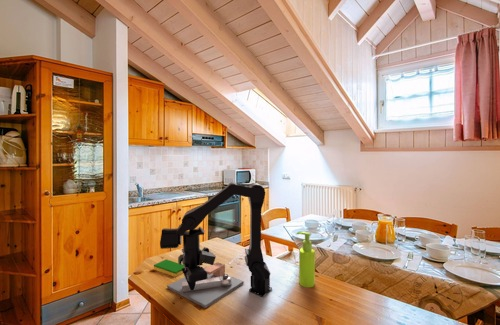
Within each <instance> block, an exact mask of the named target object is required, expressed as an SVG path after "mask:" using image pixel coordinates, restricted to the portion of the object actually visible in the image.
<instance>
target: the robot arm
mask: <svg viewBox="0 0 500 325" xmlns="http://www.w3.org/2000/svg"><path fill="white" fill-rule="evenodd" d="M234 195H237V196H240V197H246V198H247V199H248V203H249V208H250V209H249V212H250V214H249V217H250V218H249V219H250V221H249V222H250V223H249V224H250V225H249V246H248V248H245V249H244V251H245V256H244V260H245V265H246V267H247V268H248V270H249V272H250V273H251V276H250V288H248V292H250V293H253V294H256V295H258V296H261V297H264V296H265V295H267V294H268V293H269V292H271V291H272V289H273V288H272V287H271V285H270V284H271V282H270V281H271V278H270V277H271V271H270V269H269V267H268V265H267V263H266V261H265V260H264V256H263V251H262V208H263V207H264V206H263V205H264V204H265V203H264V202H265V196H266V189H265V187H263V186H262V185H261V184H260V183H258V182H252V183H250V184H249V183H238V182H233V181H232V182H231V181H230V183H228V184H227V186H225V187H223V188H222V189H221V190H219V191H218V192H217V193H216V194H215V195H213V196H212V197H210V198H209V199H207V200H206V201H205V202H203V203H202V204H200V205H197V206H195V207H193V208H191V209H189V210H188V211H186V212H185V213H184V215H183V217H182V219H181V223H180V224H179V225H178V227H177V228H162V229H161V234H160V240H159V247H160V249H161V250H164V249H165V250H166V249H178V248H179V245H182V248H181V252H182V254H180V255H179V256H178V257H177V258H178V259H177V261H178V262H177V263H179V265H181V264H183V265H184V268H182V272H183V273H182V274H183V275H184V277H185V278H186V281H187V283H188V285H189V287H190V290H194V287H195V284H196V282H197V281H201V280H206V279H207V278H208V277H207V272H206V270H205V269H204V268H205V267H203V264H206V265H207V264H208V265H209V266H211V265H213V264H215V261H216V258H217V256H216V254H214V252H212V251H210V249H209V247H207V246H204V247H203V248H202V249H200V248H201V247H200V246H201V245H200V244H201V243H200V236H203V235H205V231H206V230H205V229H203V228H202V226H199V225H200V224H201V223H202V222H203V221H204V220H205V219H206V217H207V216H208V215H209V214H210V213H211V212H213V211H214V210H216V209H217V208H218V207H220V206H221V205H223V204H224V203H225V202H226V201H228V200H229V199H230V198H232V197H233V196H234ZM198 226H199V227H198Z"/></svg>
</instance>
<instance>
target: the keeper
mask: <svg viewBox="0 0 500 325" xmlns="http://www.w3.org/2000/svg"><path fill="white" fill-rule="evenodd" d="M206 267H207V268H205V267H204V268H205V270H206V272H207V274H209V275H210V274H212V273H213V275H215V276H217V277H220V276H222V275H224V274H226V264H224V263H221V262H219V261H217V262H214V264H213V265H209V266H206Z"/></svg>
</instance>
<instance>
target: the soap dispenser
mask: <svg viewBox="0 0 500 325" xmlns="http://www.w3.org/2000/svg"><path fill="white" fill-rule="evenodd" d="M296 234H297V235H304V240H302V247H301V248H300V249H299V252H298V254H299V256H298V259H299V262H298V263H299V265H298V266H299V267H298V268H299V270H298V273H299V276H298V277H299V279H298V281H299V282H298V283H299V285H300V286H302V287H304V288H312V287H315V284H316V282H315V281H316V280H315V277H316V276H315V275H316V271H315V270H316V264H315V263H316V250H315V249H313V248H312V243H313V242H312V241H311V240H310V237H311V235H312V233H311V232H308V231H303V230H302V231H297V232H296Z"/></svg>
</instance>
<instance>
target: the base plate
mask: <svg viewBox="0 0 500 325" xmlns="http://www.w3.org/2000/svg"><path fill="white" fill-rule="evenodd" d="M207 267H208V266H205V267H203V268H204V269H205V268H207ZM207 277H208V278H214V277H217V276H215V275H213V273H212V274H210V275H209V274H207ZM182 282H186V278H185V276H184V277H182V278H180V279H178V280H176V281H174V282H171V283H169V284H167V286H166V287H167V289H168V290H170V291H172V292H174V293H175V294H178V295H180V296H182V297H183V298H185V299H187V300H189V301H192V302H193V303H195V304H197V305H199V306H200V307H202V308H204V309H207V308H208V307H211V306H212V305H213V304H214V303H216V302H219V300H221V299H222V298H223V297H225V296H227V295H229V294H230V293H231V292H233V291H235V290H237V289H238V288H239V287H241V286H242V285H244V280H243V279H239V278H237V277H234V276H232V285H231V286H228V287H222V286H219V287H213V288H206V289H200V290H193V291H186V292H182Z"/></svg>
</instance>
